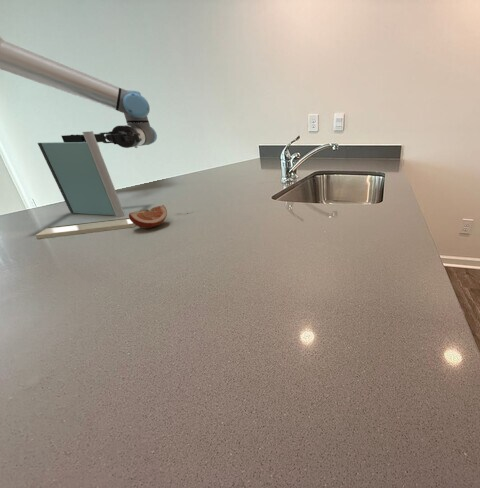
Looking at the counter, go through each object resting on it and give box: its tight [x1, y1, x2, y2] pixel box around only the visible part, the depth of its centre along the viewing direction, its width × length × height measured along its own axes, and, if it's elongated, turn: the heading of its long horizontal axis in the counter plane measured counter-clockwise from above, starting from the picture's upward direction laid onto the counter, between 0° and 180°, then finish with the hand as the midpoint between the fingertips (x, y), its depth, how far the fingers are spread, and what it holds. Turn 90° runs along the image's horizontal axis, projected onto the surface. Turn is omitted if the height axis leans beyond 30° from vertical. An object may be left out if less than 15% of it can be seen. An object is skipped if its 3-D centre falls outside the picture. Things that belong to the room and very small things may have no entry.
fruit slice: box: [128, 204, 168, 229], centre depth 66 cm, size 8×7×5 cm
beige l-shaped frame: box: [35, 130, 136, 240], centre depth 66 cm, size 20×16×23 cm
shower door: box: [37, 141, 116, 216], centre depth 73 cm, size 15×9×19 cm, turn 80°
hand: (89, 140), depth 77 cm, fingers open, 13 cm apart
